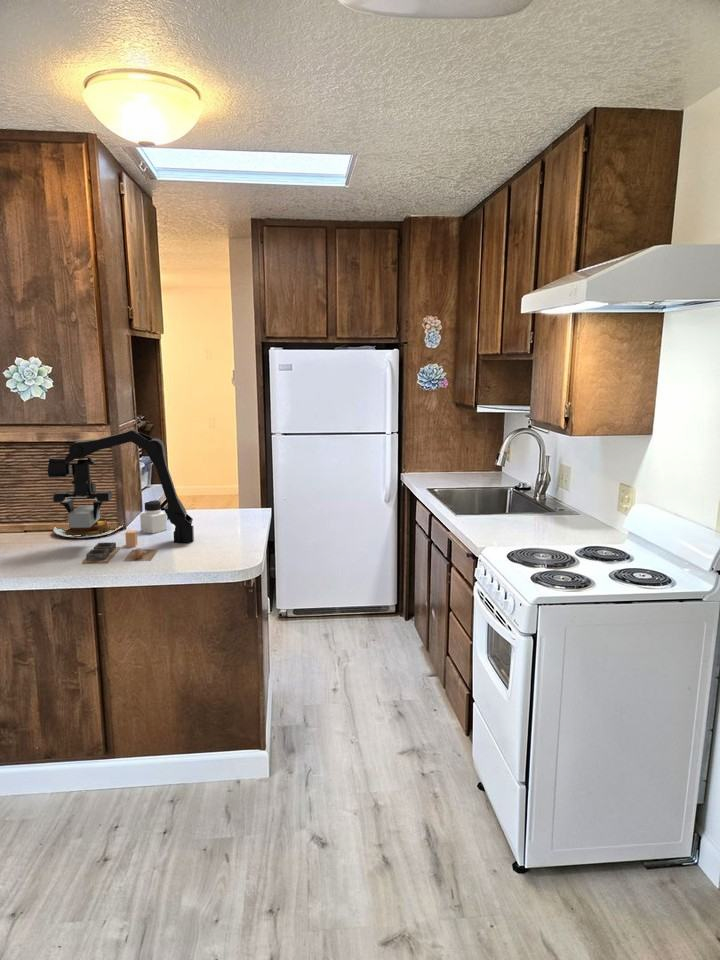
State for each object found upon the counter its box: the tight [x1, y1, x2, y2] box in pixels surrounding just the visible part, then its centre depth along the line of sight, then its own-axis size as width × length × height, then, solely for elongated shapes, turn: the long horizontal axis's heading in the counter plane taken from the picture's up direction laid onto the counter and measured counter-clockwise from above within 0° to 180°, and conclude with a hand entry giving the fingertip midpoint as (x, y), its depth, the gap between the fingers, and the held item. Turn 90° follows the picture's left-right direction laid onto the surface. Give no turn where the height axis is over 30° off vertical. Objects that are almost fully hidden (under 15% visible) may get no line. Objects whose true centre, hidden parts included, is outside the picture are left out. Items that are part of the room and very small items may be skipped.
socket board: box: [81, 541, 121, 565], centre depth 213 cm, size 8×16×4 cm, turn 6°
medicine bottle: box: [139, 499, 168, 534], centre depth 247 cm, size 7×7×12 cm
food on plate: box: [52, 520, 123, 539], centre depth 246 cm, size 25×25×7 cm
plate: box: [123, 548, 159, 562], centre depth 214 cm, size 9×13×4 cm
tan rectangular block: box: [124, 529, 138, 548], centre depth 225 cm, size 3×3×6 cm
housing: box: [67, 505, 101, 528], centre depth 223 cm, size 7×12×5 cm, turn 6°
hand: (84, 519), depth 223 cm, fingers closed on housing, 7 cm apart
